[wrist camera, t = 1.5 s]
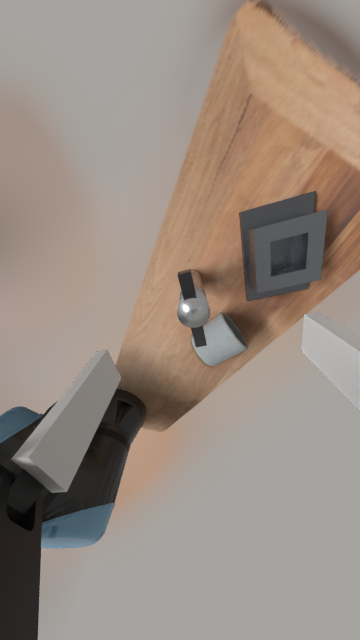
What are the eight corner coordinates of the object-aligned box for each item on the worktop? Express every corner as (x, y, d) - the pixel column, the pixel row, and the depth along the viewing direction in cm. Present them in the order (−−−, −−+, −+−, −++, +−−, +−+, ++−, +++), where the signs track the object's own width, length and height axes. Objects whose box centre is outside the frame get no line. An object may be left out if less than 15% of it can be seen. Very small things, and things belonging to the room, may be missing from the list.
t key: (204, 298, 32) (216, 343, 18) (187, 301, 32) (186, 349, 19) (196, 253, 28) (202, 268, 15) (177, 258, 29) (166, 277, 15)
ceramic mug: (187, 330, 35) (187, 354, 28) (219, 305, 32) (227, 325, 25) (219, 360, 38) (226, 388, 31) (250, 340, 35) (265, 366, 28)
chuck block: (246, 299, 31) (254, 308, 27) (239, 213, 25) (248, 208, 22) (305, 287, 30) (322, 294, 26) (311, 192, 24) (335, 183, 20)
